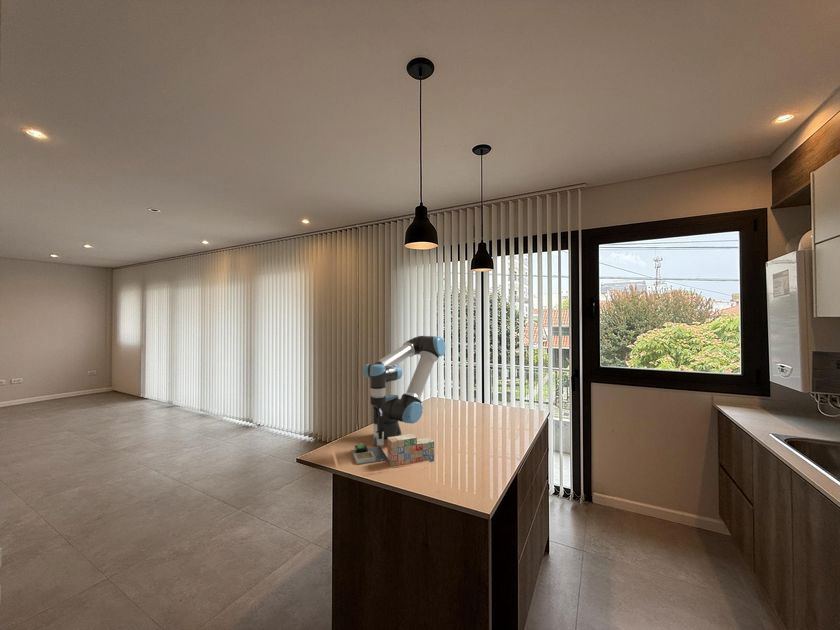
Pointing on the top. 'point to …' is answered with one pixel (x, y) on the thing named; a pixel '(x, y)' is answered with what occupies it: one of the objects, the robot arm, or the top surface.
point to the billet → (376, 434)
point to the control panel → (368, 455)
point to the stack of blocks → (409, 450)
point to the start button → (360, 445)
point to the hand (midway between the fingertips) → (378, 442)
